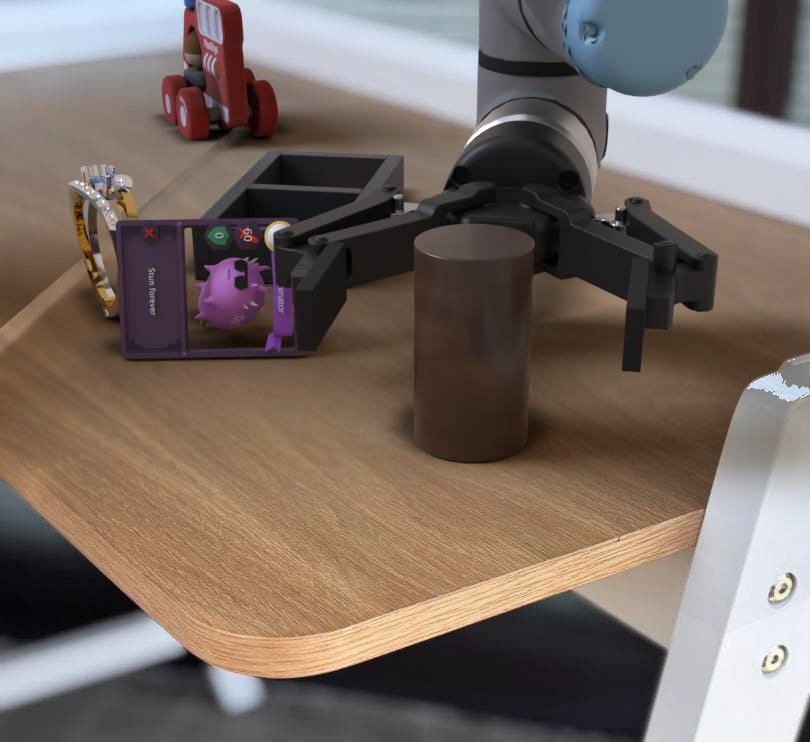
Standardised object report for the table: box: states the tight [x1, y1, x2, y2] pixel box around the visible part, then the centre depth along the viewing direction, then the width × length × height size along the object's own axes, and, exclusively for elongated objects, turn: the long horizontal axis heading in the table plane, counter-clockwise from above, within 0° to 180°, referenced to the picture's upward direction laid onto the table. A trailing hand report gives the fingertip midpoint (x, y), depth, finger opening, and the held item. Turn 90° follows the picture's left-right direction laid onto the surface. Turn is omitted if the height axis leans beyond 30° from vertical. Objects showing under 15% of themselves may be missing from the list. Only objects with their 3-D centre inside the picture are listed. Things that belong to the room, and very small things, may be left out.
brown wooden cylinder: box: [413, 224, 535, 463], centre depth 64 cm, size 5×5×9 cm
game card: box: [115, 218, 304, 359], centre depth 76 cm, size 7×5×9 cm
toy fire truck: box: [161, 0, 279, 141], centre depth 113 cm, size 7×12×10 cm, turn 21°
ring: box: [66, 163, 139, 319], centre depth 78 cm, size 7×3×8 cm, turn 24°
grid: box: [191, 149, 405, 284], centre depth 91 cm, size 9×17×3 cm, turn 170°
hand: (466, 331), depth 61 cm, fingers open, 13 cm apart
